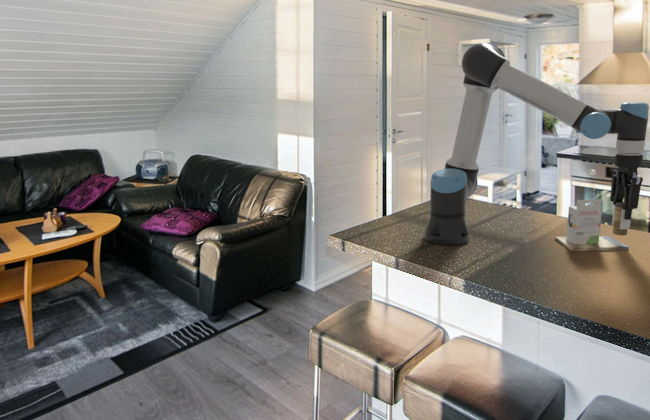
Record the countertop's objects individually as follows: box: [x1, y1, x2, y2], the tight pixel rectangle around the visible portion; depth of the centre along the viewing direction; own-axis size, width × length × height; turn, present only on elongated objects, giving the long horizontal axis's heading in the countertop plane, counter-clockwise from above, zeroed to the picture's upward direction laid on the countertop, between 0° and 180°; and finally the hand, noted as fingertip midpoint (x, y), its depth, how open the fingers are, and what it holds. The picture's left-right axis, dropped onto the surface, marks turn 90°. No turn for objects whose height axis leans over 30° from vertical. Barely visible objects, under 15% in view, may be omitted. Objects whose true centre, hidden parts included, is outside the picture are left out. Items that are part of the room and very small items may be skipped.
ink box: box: [565, 198, 603, 244], centre depth 166 cm, size 9×5×15 cm, turn 91°
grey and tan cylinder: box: [612, 201, 629, 236], centre depth 164 cm, size 4×4×10 cm
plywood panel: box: [554, 235, 630, 252], centre depth 168 cm, size 18×12×1 cm, turn 89°
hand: (620, 226), depth 164 cm, fingers closed on grey and tan cylinder, 4 cm apart
